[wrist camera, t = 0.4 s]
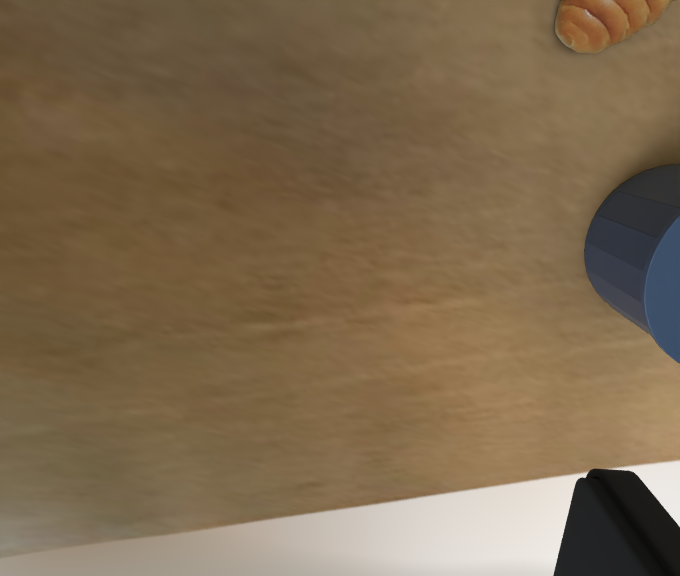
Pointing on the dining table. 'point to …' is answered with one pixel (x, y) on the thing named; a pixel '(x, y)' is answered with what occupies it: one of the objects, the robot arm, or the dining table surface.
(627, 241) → the pot
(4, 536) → the dining table surface
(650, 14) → the pastry
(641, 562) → the robot arm
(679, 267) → the lid
